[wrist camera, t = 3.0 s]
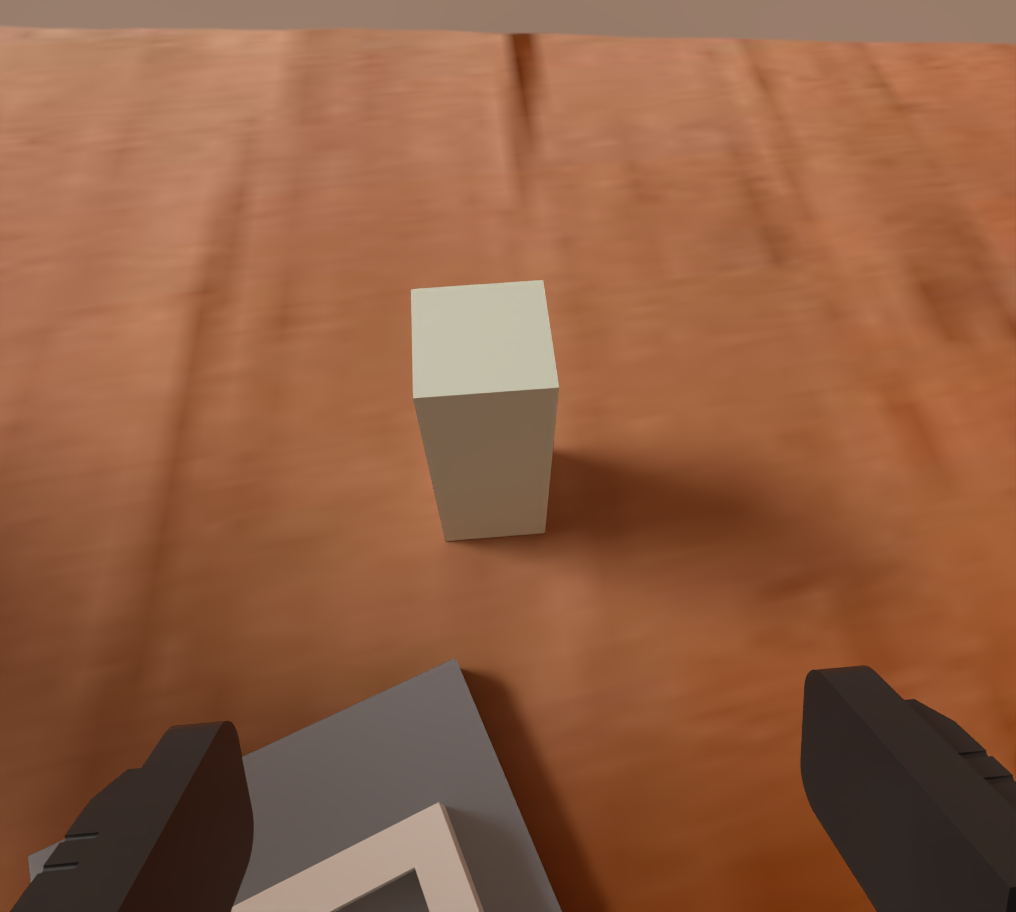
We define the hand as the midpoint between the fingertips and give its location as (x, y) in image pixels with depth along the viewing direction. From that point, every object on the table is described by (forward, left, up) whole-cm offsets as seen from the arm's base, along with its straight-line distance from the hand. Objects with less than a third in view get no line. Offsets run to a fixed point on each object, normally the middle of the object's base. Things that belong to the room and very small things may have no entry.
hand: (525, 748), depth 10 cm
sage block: (-11, +4, -15) cm, 19 cm away
